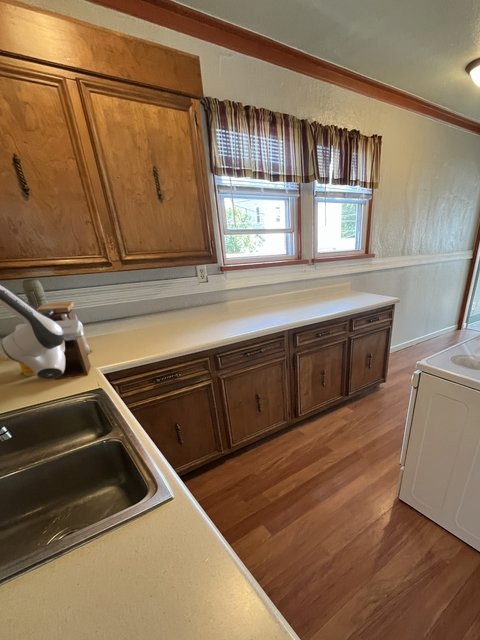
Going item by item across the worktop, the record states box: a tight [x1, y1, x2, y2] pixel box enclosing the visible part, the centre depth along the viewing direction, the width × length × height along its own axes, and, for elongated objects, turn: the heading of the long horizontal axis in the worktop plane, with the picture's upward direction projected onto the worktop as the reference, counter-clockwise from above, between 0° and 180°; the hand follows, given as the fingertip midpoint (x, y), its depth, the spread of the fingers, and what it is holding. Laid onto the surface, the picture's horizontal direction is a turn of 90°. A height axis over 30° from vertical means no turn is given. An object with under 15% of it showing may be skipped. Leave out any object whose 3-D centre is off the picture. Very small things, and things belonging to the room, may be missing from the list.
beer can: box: [18, 362, 37, 377], centre depth 139 cm, size 6×6×15 cm
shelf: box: [37, 300, 75, 317], centre depth 134 cm, size 25×11×2 cm, turn 25°
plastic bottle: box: [74, 313, 91, 355], centre depth 161 cm, size 6×7×20 cm
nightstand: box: [44, 308, 92, 380], centre depth 138 cm, size 12×12×26 cm
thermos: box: [22, 278, 50, 309], centre depth 165 cm, size 9×12×35 cm
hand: (50, 316), depth 126 cm, fingers open, 8 cm apart
